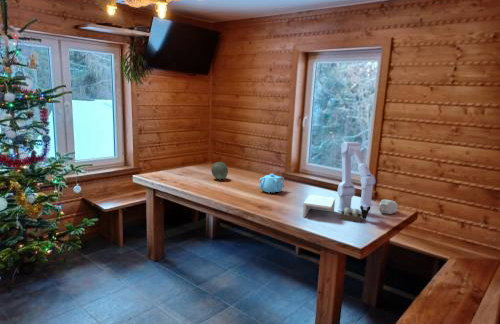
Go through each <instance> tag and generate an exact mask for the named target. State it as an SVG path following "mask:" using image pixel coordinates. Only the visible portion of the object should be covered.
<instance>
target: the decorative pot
mask: <svg viewBox="0 0 500 324" xmlns="http://www.w3.org/2000/svg"><path fill="white" fill-rule="evenodd" d="M284 181H285V179H284V177H283V176H279V175H275V173H269V174H266V175H264V176H263V177H260V178H259V184H260V185H259V186H258V188H259V189H261V191H263V192H265V193H267V192H268V193H267V194H271V193H275V192H279V193H280V192H281V191H282V190H283V188H284V187H285V185H284ZM270 192H271V193H270Z"/></svg>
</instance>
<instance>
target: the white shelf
mask: <svg viewBox="0 0 500 324" xmlns="http://www.w3.org/2000/svg"><path fill="white" fill-rule="evenodd" d="M335 201H336V198H335V197H330V196H324V195H323V196H322V195H314V194H309V195H308V196H307V198H306V199H305V201H304V202H303V204H302V218H306V216H307V214H308V213H309V211H310V210H312V209H313V210H317V211H319V210H320V211H323V212H324V211H325V212H331V213H332V212H333V213H334V212H335V203H336V202H335Z"/></svg>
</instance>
